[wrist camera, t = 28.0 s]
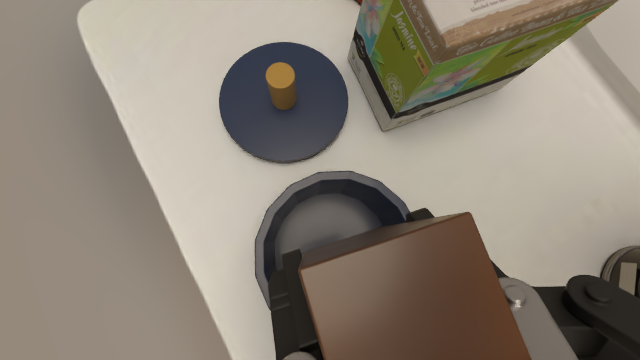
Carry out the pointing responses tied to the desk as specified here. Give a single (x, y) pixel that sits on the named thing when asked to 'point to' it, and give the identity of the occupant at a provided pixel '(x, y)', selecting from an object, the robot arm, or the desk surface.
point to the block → (410, 295)
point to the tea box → (453, 49)
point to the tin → (322, 217)
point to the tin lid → (283, 102)
